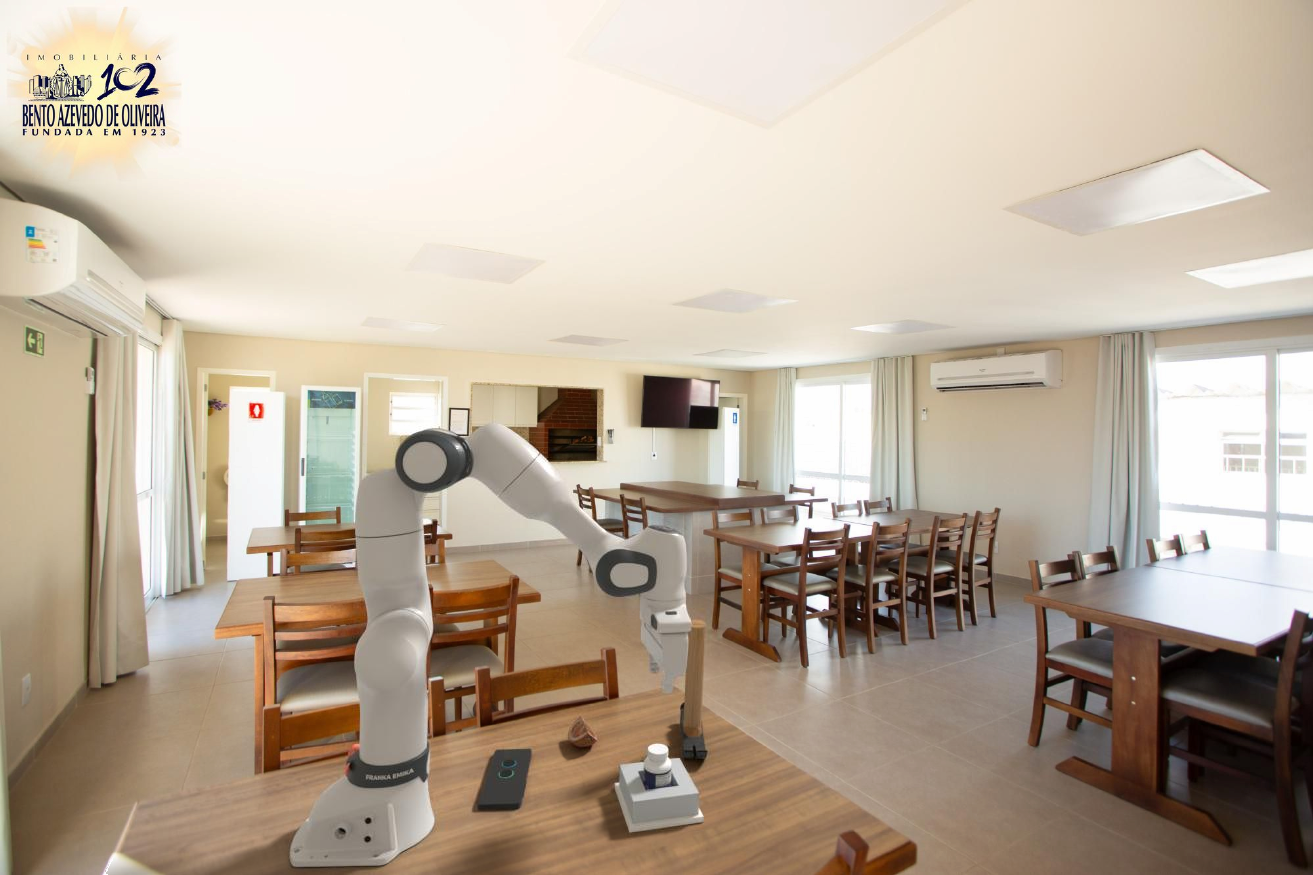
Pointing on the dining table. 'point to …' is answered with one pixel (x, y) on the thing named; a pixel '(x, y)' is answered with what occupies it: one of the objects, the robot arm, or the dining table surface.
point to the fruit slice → (581, 733)
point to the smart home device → (505, 780)
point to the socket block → (657, 799)
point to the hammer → (694, 694)
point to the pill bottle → (657, 768)
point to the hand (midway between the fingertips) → (660, 681)
